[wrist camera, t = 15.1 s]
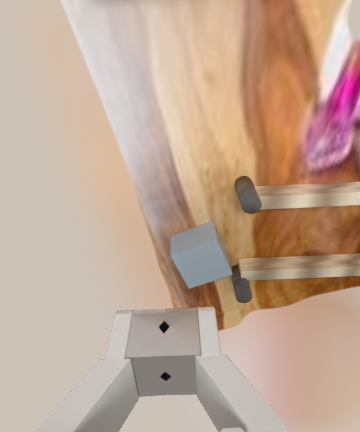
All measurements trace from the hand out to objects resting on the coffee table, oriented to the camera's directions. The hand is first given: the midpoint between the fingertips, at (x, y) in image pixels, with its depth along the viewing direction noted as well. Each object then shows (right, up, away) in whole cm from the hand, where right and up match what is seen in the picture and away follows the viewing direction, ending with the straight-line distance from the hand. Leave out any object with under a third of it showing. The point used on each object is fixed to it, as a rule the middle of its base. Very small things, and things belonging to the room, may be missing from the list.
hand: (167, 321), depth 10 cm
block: (+4, -1, +40) cm, 40 cm away
